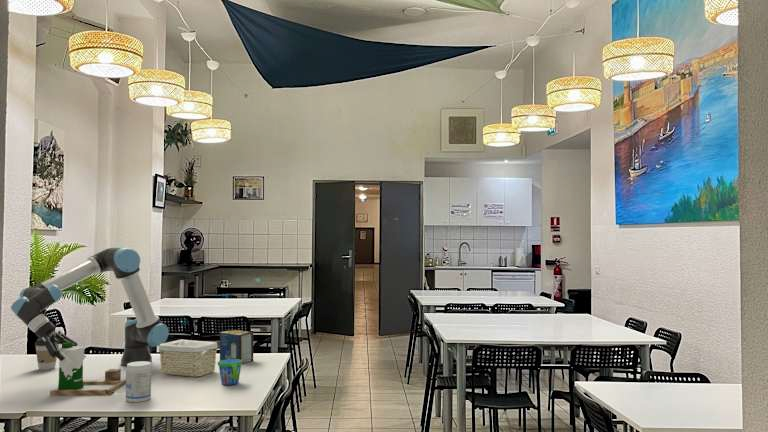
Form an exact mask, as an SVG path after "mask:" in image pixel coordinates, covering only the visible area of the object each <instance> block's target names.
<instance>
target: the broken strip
mask: <svg viewBox="0 0 768 432" xmlns="http://www.w3.org/2000/svg"><path fill="white" fill-rule="evenodd" d="M83 381H99V380H98V379H93V380H92V379H91V380H90V379H88V380H86V379H85V380H84V379H83ZM103 381H105V379H104V380H103ZM120 381H125V379H121V380H120Z"/></svg>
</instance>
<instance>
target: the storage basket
mask: <svg viewBox="0 0 768 432" xmlns="http://www.w3.org/2000/svg"><path fill="white" fill-rule="evenodd" d="M218 347H219V345H218V343H217V341H207V340H205V341H204V340H194V339H193V340H192V339H190V340H189V339H182V338H181V339H177V340H173V341H168V342H164V343H163V344H160V346H158V350H159V352H160V353H159V355H160V356H159V357H160V358H159V360H160V371H161V372H160V373H162V374H166V375H169V376H171V375H172V376H181V377H189V378H190V377H191V378H192V377H193V378H194V377H195V378H196V377H202V376H205V375H207V374H208V375H209V374H211V373H213V372H215V370H216V359H217V352H218V351H217V349H218Z"/></svg>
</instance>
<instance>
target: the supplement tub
mask: <svg viewBox="0 0 768 432" xmlns="http://www.w3.org/2000/svg"><path fill="white" fill-rule="evenodd" d="M152 368H153V367H152V363H151V362H147V361H138V362H131V363H128V364H127V366H126V370H125V371H126V372H125V373H126V376H125V377H126V378H125V381H126V384H125V400H126V402H128V403H129V402H130V403H142V402H147V401H149V400H150V399H151V398H152Z"/></svg>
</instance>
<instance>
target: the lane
mask: <svg viewBox="0 0 768 432" xmlns="http://www.w3.org/2000/svg"><path fill="white" fill-rule="evenodd" d="M85 385H86V386H90V385H91V386H93V385H96V386H97V385H101V386H102V385H113V386H112V387H109V388H108V389H107V388H105V389H102V388H101V389H100V388H99V389H95V388H94V389H90V388H89V389H77V390H58V389H51V390H49V396H52V397H53V396H54V397H55V396H60V397H61V396H111V395H113V394H115V391H117V390H119V389H120V388H121V387H122V386H125V385H126V380H124V381H104V380H98V381H83V386H85ZM106 394H107V395H106Z"/></svg>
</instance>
